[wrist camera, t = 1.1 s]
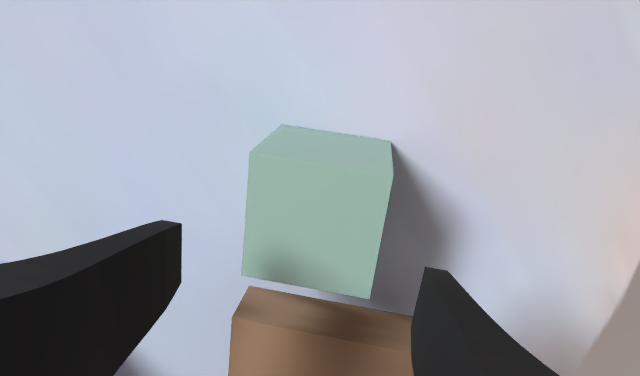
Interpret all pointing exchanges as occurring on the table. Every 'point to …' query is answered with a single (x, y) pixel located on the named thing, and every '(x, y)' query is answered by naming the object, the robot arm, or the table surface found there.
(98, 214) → the table surface
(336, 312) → the walnut block
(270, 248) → the green cube
